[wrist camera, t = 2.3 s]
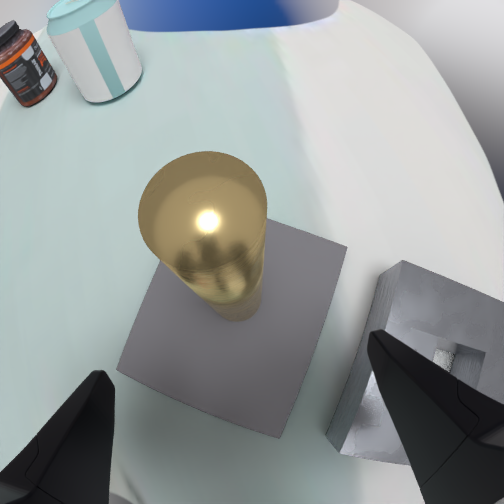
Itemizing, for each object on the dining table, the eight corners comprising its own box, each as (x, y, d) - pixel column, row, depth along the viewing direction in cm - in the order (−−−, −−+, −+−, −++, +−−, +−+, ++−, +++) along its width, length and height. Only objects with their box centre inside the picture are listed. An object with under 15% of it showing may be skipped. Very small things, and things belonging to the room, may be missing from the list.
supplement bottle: (64, 83, 29) (26, 17, 18) (27, 115, 28) (-19, 55, 17) (51, 69, 30) (17, 11, 20) (17, 98, 29) (-22, 44, 18)
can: (81, 83, 29) (40, 8, 17) (134, 55, 30) (106, -26, 18) (90, 117, 27) (39, 31, 15) (151, 84, 28) (118, -11, 16)
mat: (279, 437, 18) (279, 438, 18) (118, 369, 20) (116, 369, 19) (346, 248, 22) (347, 247, 22) (193, 195, 24) (192, 193, 23)
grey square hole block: (455, 457, 17) (482, 470, 13) (325, 436, 18) (339, 453, 15) (495, 319, 20) (525, 312, 16) (379, 274, 22) (402, 259, 18)
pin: (251, 328, 20) (237, 291, 7) (205, 311, 21) (117, 243, 7) (267, 283, 21) (284, 171, 8) (223, 267, 22) (173, 139, 8)
